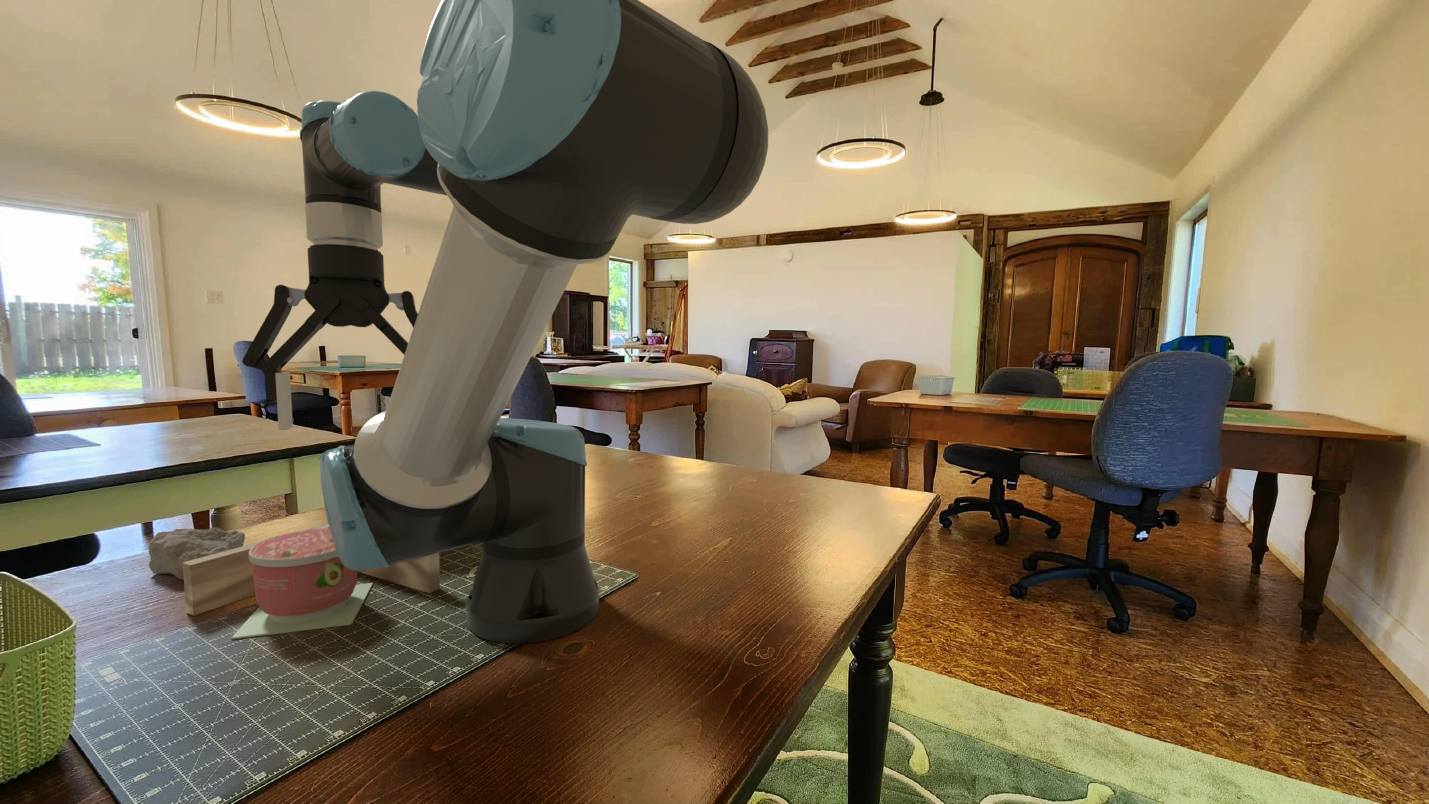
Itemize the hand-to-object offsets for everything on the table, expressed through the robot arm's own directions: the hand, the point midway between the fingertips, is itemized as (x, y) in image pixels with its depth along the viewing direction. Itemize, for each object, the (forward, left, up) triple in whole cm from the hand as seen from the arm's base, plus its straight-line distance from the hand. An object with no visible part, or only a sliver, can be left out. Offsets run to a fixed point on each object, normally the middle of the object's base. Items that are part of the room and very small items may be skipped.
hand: (354, 426), depth 69 cm
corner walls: (+2, +3, -21) cm, 22 cm away
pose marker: (+2, +5, -21) cm, 22 cm away
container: (+2, +5, -21) cm, 22 cm away
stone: (+25, +6, -22) cm, 34 cm away
